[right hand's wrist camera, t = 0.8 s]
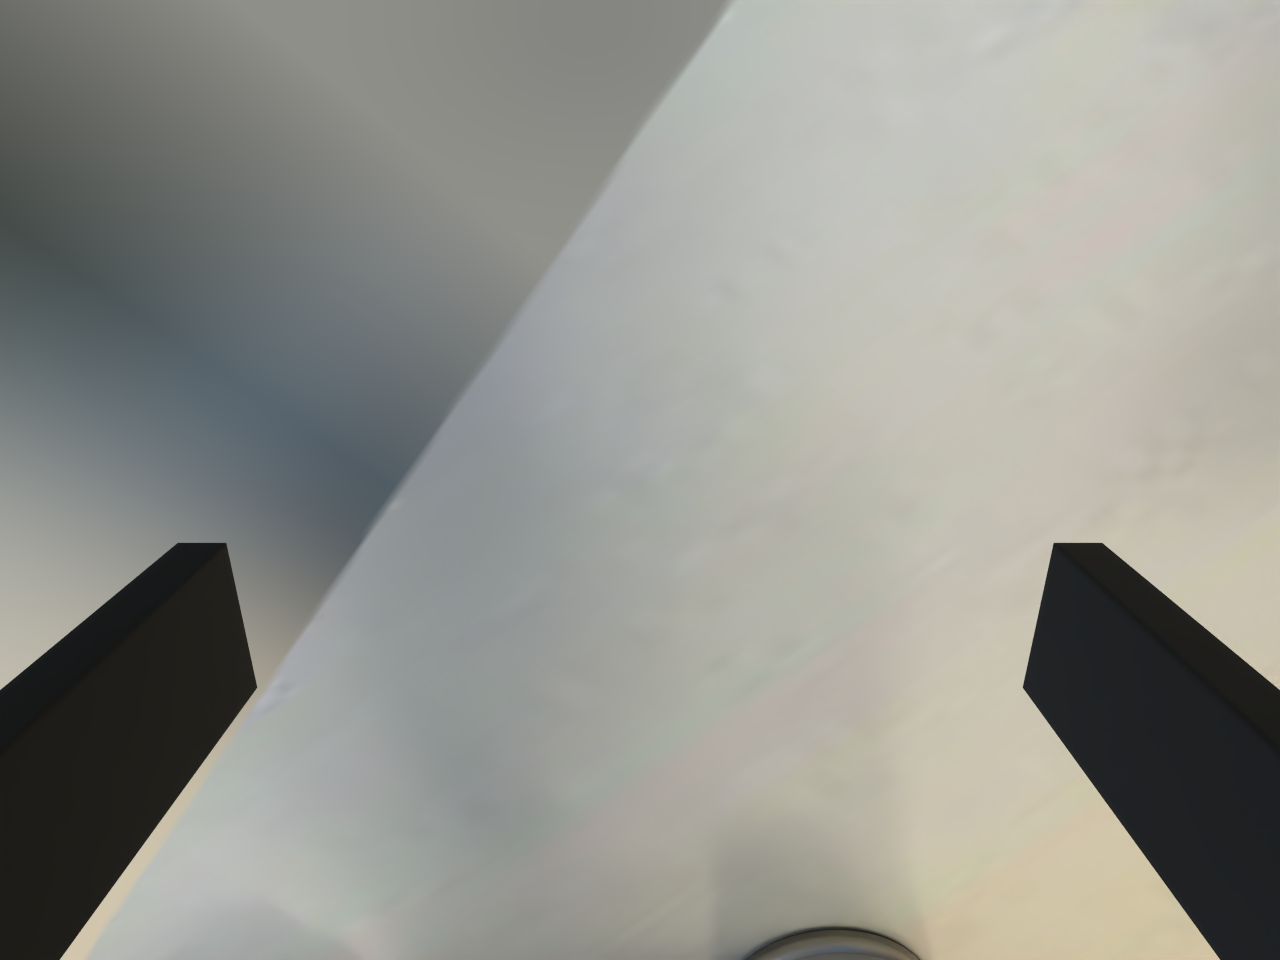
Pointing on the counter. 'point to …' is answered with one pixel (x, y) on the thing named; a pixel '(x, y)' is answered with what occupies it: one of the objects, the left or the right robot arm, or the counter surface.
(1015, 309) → the counter surface
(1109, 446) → the counter surface
